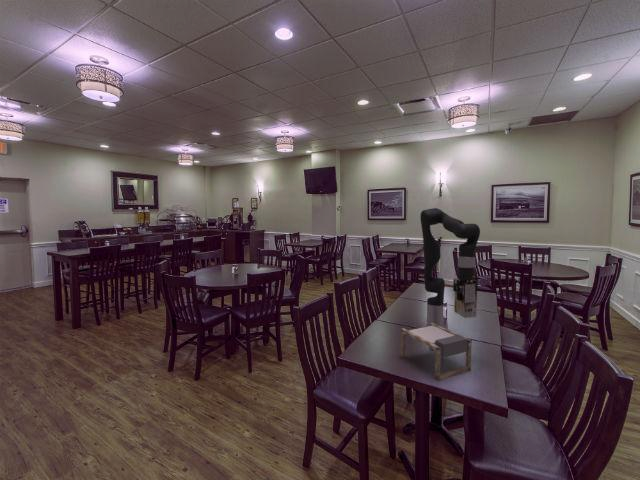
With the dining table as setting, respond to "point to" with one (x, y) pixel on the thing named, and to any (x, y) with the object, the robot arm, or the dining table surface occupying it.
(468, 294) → the coffee box
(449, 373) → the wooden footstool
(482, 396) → the dining table surface
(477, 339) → the dining table surface
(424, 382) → the dining table surface
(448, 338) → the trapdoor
